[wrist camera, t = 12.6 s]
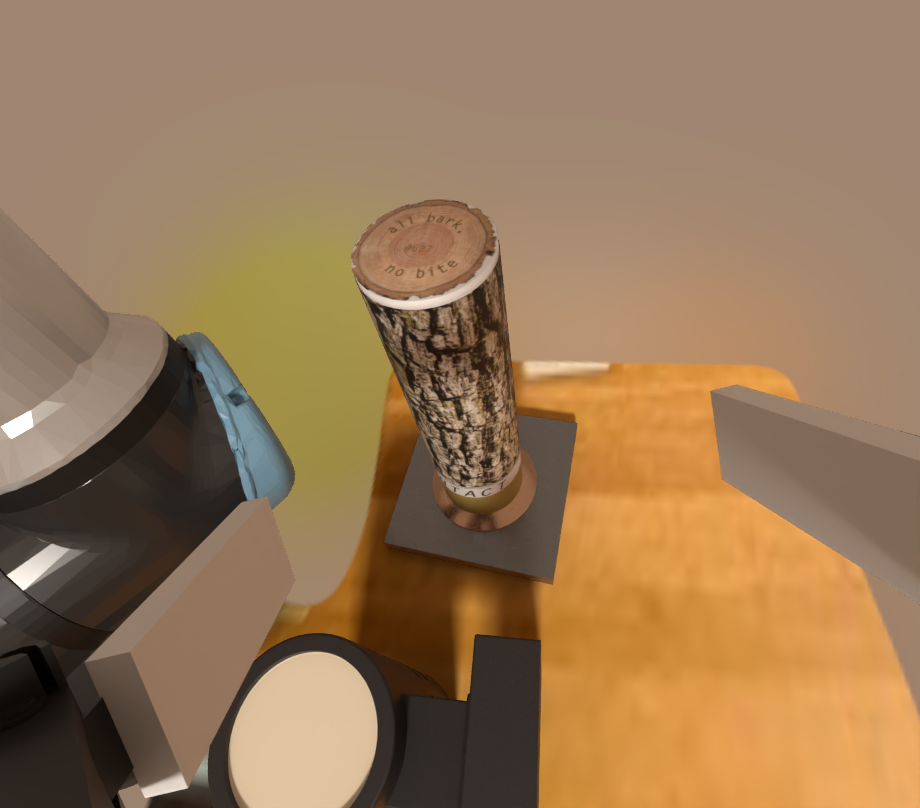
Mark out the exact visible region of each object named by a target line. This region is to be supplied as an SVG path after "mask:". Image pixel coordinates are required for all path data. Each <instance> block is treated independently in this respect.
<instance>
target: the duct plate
mask: <svg viewBox="0 0 920 808" xmlns="http://www.w3.org/2000/svg"><path fill="white" fill-rule="evenodd" d="M517 422H518V432H519V441H520V451H521V464H522V475H523V476H522V484H521V487H520V490H519V492H518V494H517V496H516V497H515V498H514V500H513V501H512V502H511V503H510V504H509V505H507V506H506V507H505V508H503V509H501V510H499V511H497V512H494V513H490V514H473V513H469V512H466V511H464V510H462V509H460V508H459V507H457V506H456V505H455V504H454V503H453V502H452V501H451V500H450V498H449V497H448V495H447V494H446V491H445V489H444V487H443V484H442V482H441V480H440V478H439V476H438V473H437V471H436V469H435V466H434V464H433V462H432V459H431V457H430V454H429V452H428V450H427V447H426V445H425V443H424V440H423V438H422V436H421V433H419V436H418V439H417V442H416V445H415V448H414V451H413V454H412V457H411V460H410V464H409V467H408V470H407V473H406V476H405V479H404V482H403V485H402V488H401V491H400V494H399V497H398V500H397V503H396V506H395V509H394V512H393V515H392V518H391V521H390V524H389V527H388V530H387V533H386V536H385V539H384V544H385V545H386V546H387V547H388V548H392V549H396V550H401V551H405V552H410V553H414V554H418V555H423V556H427V557H432V558H436V559H441V560H445V561H450V562H454V563H458V564H463V565H467V566H472V567H476V568H481V569H485V570H490V571H494V572H498V573H503V574H507V575H512V576H516V577H521V578H525V579H530V580H534V581H538V582H543V583H547V584H552V585H553V580H554V574H555V567H556V561H557V554H558V548H559V541H560V535H561V528H562V522H563V515H564V509H565V503H566V496H567V490H568V483H569V477H570V470H571V464H572V457H573V451H574V444H575V438H576V431H577V423H573V422H566V421H559V420H552V419H545V418H539V417H532V416H525V415H518V414H517Z"/></svg>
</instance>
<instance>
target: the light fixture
mask: <svg viewBox="0 0 920 808" xmlns="http://www.w3.org/2000/svg"><path fill="white" fill-rule="evenodd" d="M540 712H541V641H540V640H530V639H520V638H510V637H500V636H490V635H479V634H476V635H475V639H474V651H473V663H472V674H471V686H470V694H468V697H467V701H461V700H453V699H448V697H447V695H446V694H445V692H444V691H443V689H442V688H441V687H440V686H439V685H438V684H437V683H436V682H435V681H434V680H433V679H432V678H430V677H429V676H427V675H425V674H423V673H421V672H419V671H416V670H414V669H412V668H410V667H407V666H405V665H403V664H401V663H399V662H396V661H394V660H392V659H390V658H387V657H385V656H383V655H381V654H379V653H376V652H374V651H372V650H370V649H367V648H365V647H363V646H361V645H359V644H356V643H354V642H352V641H350V640H347V639H345V638H343V637H340V636H336V635H332V634H325V633H312V634H304V635H299V636H296V637H292V638H290V639H287V640H285V641H282V642H280V643H278V644H277V645H275V646H273V647H272V648H270V649H268V650H267V651H266V652H264V653H263V654H262V655H260V656H259V657H258V658H257V659H256V660H255V661H254V662H253V663H252V665H251V667H250V669H249V671H248V673H247V675H246V677H245V679H244V681H243V682H242V684H241V686H240V688H239V690H238V692H237V694H236V696H235V698H234V700H233V702H232V704H231V706H230V708H229V710H228V711H227V713H226V715H225V717H224V719H223V721H222V723H221V725H220V727H219V729H218V731H217V733H216V735H215V737H214V739H213V741H212V742H211V744H210V748H209V757H208V783H209V790H210V796H211V800H212V804H213V807H214V808H538V803H539V758H540Z"/></svg>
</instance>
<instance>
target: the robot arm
mask: <svg viewBox="0 0 920 808" xmlns="http://www.w3.org/2000/svg"><path fill="white" fill-rule="evenodd" d="M710 392H711V399H712V406H713V414H714V421H715V429H716V436H717V444H718V451H719V459H720V466H721V473H722V480H724V481H726V482H727V483H729V484H730V485H732V486H733V487H735V488H737V489H738V490H740V491H741V492H743V493H744V494H746V495H748V496H749V497H751V498H752V499H754V500H756V501H757V502H759V503H760V504H762V505H763V506H765V507H767V508H768V509H770V510H771V511H773V512H774V513H776V514H778V515H779V516H781V517H782V518H784V519H786V520H787V521H789V522H790V523H792V524H793V525H795V526H797V527H798V528H800V529H801V530H803V531H804V532H806V533H808V534H809V535H811V536H812V537H814V538H815V539H817V540H819V541H820V542H822V543H823V544H825V545H827V546H828V547H830V548H831V549H833V550H834V551H836V552H838V553H839V554H841V555H842V556H844V557H845V558H847V559H849V560H850V561H852V562H853V563H855V564H857V565H858V566H860V567H861V568H863V569H864V570H866V571H868V572H869V573H871V574H872V575H874V576H875V577H877V578H879V579H880V580H882V581H883V582H885V583H887V584H888V585H890V586H891V587H893V588H894V589H896V590H898V591H899V592H901V593H903V594H904V595H906V596H907V597H909V598H910V599H912V600H913V601H915V602H917V603H918V604H920V436H917V435H913V434H909V433H906V432H902V431H898V430H894V429H890V428H887V427H884V426H880V425H877V424H873V423H870V422H866V421H863V420H859V419H856V418H852V417H848V416H845V415H841V414H838V413H834V412H830V411H827V410H824V409H820V408H817V407H813V406H810V405H806V404H803V403H799V402H796V401H792V400H789V399H785V398H782V397H778V396H775V395H771V394H767V393H764V392H760V391H757V390H753V389H750V388H746V387H743V386H739V385H733V386H729V387H725V388H720V389H716V390H712V391H710ZM294 480H295V471H294V467H293V465H292V462H291V460H290V458H289V456H288V455H287V453H286V451H285V449H284V448H283V446H282V444H281V442H280V441H279V439H278V438H277V436H276V434H275V433H274V431H273V430H272V428H271V426H270V425H269V423H268V422H267V420H266V419H265V417H264V416H263V414H262V413H261V411H260V410H259V408H258V407H257V405H256V404H255V403H254V401H253V400H252V398H251V397H250V396H249V395H248V394H247V393H246V390H245V388H244V387H243V385H242V384H241V383H240V381H239V380H238V378H237V376H236V374H235V373H234V372H233V370H232V369H231V367H230V366H229V365H228V363H227V362H226V360H225V359H224V358H223V356H222V355H221V353H220V352H219V351H218V350H217V348H216V347H215V346H214V344H213V343H212V342H211V341H210V340H209V339H208V338H207V336H205V335H204V334H202V333H200V332H194V333H191V334H189V335H182V336H179V337H177V339H176V341H175V340H174V339H173V338H172V337H171V336H170V335H169V334H168V333H167V332H166V331H165V330H164V328H163V327H162V326H161V325H160V324H159V323H158V322H156V321H154V320H153V319H151V318H149V317H146V316H140V315H130V314H120V313H110V312H106V311H104V310H102V309H101V308H100V307H99V306H98V305H97V304H96V303H95V302H94V301H93V300H92V299H91V298H90V297H89V296H88V295H87V294H86V293H85V292H84V291H83V290H82V289H81V288H80V287H79V286H78V285H77V284H76V283H75V282H74V281H73V280H72V279H71V278H70V277H69V276H68V275H67V274H66V273H65V272H64V271H63V270H62V269H61V268H60V267H59V266H58V265H57V264H56V263H55V262H54V261H53V260H52V259H51V258H50V257H49V256H48V255H47V254H46V253H45V252H44V251H43V250H42V249H41V248H40V247H39V246H38V245H37V244H36V243H35V242H34V241H33V240H32V239H31V238H30V237H29V236H28V235H27V234H26V233H25V232H24V231H23V230H22V229H21V228H20V227H19V226H18V225H17V224H16V223H15V222H14V221H13V220H12V219H11V218H10V217H9V216H8V215H7V214H6V213H5V212H4V211H3V210H2V209H1V208H0V808H125V806H124V804H123V802H122V800H121V798H120V795H119V793H118V791H119V790H122V789H125V788H128V787H130V786H133V785H135V784H137V783H138V784H139V786H140V788H141V790H142V793H143V795H144V797H145V798H148V797H152V796H156V795H160V794H165V793H169V792H173V791H178V790H182V789H186V788H188V787H189V785H190V783H191V781H192V779H193V777H194V775H195V773H196V771H197V770H198V768H199V766H200V764H201V762H202V760H203V758H204V756H205V754H206V752H207V750H208V748H209V746H210V744H211V742H212V741H213V739H214V737H215V735H216V733H217V731H218V729H219V727H220V725H221V723H222V721H223V719H224V717H225V715H226V713H227V711H228V710H229V708H230V706H231V704H232V702H233V700H234V698H235V696H236V694H237V692H238V690H239V688H240V686H241V684H242V682H243V681H244V679H245V677H246V675H247V673H248V671H249V669H250V667H251V665H252V663H253V661H254V659H255V657H256V655H257V653H258V652H259V650H260V648H261V646H262V644H263V642H264V640H265V638H266V636H267V634H268V632H269V630H270V628H271V626H272V624H273V622H274V621H275V619H276V617H277V615H278V613H279V611H280V609H281V607H282V605H283V603H284V601H285V599H286V597H287V595H288V593H289V592H290V589H291V588H292V586H293V584H294V582H295V578H294V575H293V572H292V569H291V566H290V563H289V560H288V557H287V554H286V551H285V548H284V545H283V542H282V539H281V536H280V533H279V530H278V527H277V524H276V521H275V518H274V515H273V512H272V509H273V508H275V507H276V506H277V505H278V504H279V503H280V502H281V501H282V500H284V499H285V498H286V497H287V496H288V494H289V492H290V491H291V488H292V486H293V484H294Z"/></svg>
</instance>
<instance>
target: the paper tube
mask: <svg viewBox="0 0 920 808" xmlns="http://www.w3.org/2000/svg"><path fill="white" fill-rule="evenodd" d="M351 266H352V270H353V273H354V276H355V279H356V282H357V285H358V287H359V289H360V292H361V294H362V296H363V299H364V301H365V304H366V306H367V308H368V311H369V313H370V315H371V318H372V320H373V322H374V325H375V327H376V329H377V332H378V334H379V337H380V339H381V341H382V343H383V346H384V348H385V350H386V352H387V355H388V358H389V360H390V362H391V364H392V367H393V370H394V372H395V374H396V377H397V379H398V381H399V384H400V386H401V388H402V391H403V393H404V395H405V398H406V400H407V403H408V405H409V407H410V410H411V412H412V414H413V417H414V419H415V421H416V424H417V426H418V429H419V431H420V433H421V436H422V438H423V440H424V443H425V445H426V447H427V450H428V452H429V454H430V457H431V459H432V462H433V464H434V466H435V469H436V471H437V473H438V476H439V478H440V480H441V482H442V484H443V487H444V489H445V491H446V494H447V495H448V497H449V498H450V500H451V501H452V502H453V503H454V504H455V505H456V506H457V507H459V508H460V509H462V510H464V511H466V512H469V513H473V514H490V513H494V512H497V511H499V510H501V509H503V508H505V507H506V506H507V505H509V504H510V503H511V502H512V501H513V500H514V498H515V497H516V496H517V494H518V492H519V490H520V487H521V484H522V476H523V475H522V464H521V451H520V441H519V432H518V422H517V412H516V402H515V392H514V383H513V373H512V363H511V353H510V343H509V334H508V324H507V314H506V304H505V294H504V284H503V275H502V265H501V256H500V245H499V240H498V234H497V230H496V227H495V225H494V223H493V222H492V220H491V219H490V218H489V217H488V216H487V215H486V214H485V213H484V212H483V211H481V210H479V209H478V208H476V207H474V206H472V205H469V204H466V203H463V202H458V201H453V200H428V201H421V202H416V203H412V204H408V205H405V206H402V207H400V208H397V209H395V210H393V211H391V212H389V213H387V214H385V215H383V216H382V217H380V218H379V219H377V220H376V221H375V222H373V223H372V224H371V225H370V226H369V227H368V228H367V229H366V230H365V231H364V232H363V233H362V234H361V236H360V237H359V239H358V240H357V242H356V244H355V246H354V249H353V252H352V256H351Z"/></svg>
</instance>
